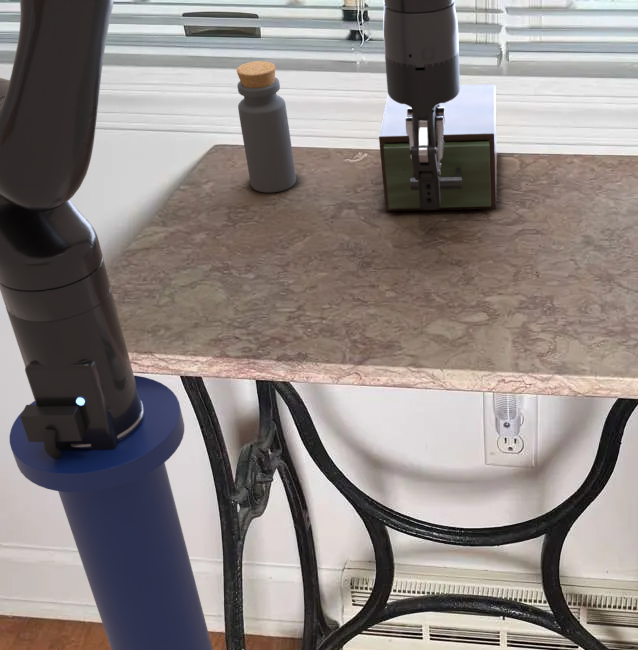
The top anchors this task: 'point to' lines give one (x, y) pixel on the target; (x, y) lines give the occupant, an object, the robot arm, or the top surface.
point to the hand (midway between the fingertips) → (430, 206)
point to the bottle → (265, 128)
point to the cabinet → (449, 129)
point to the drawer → (455, 180)
